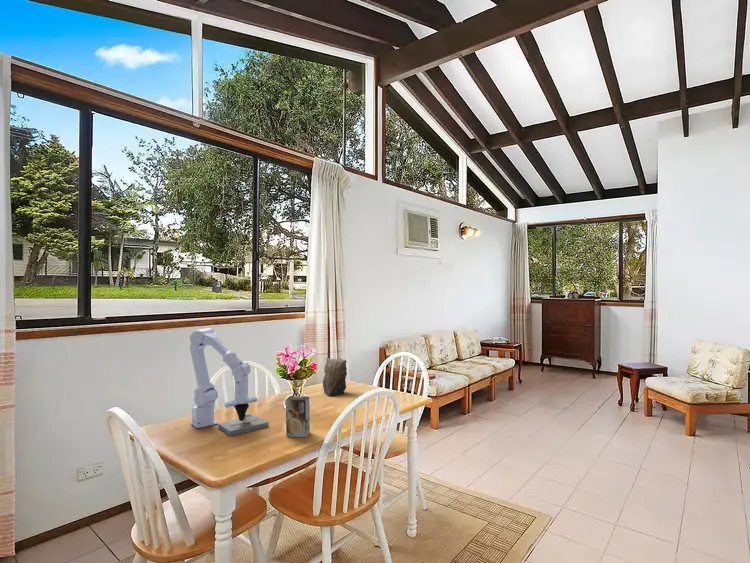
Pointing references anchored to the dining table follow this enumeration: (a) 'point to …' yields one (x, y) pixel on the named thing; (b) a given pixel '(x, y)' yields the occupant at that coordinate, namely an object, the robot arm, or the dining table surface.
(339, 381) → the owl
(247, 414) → the fader tab
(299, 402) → the coffee box
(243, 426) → the console
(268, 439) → the dining table surface
